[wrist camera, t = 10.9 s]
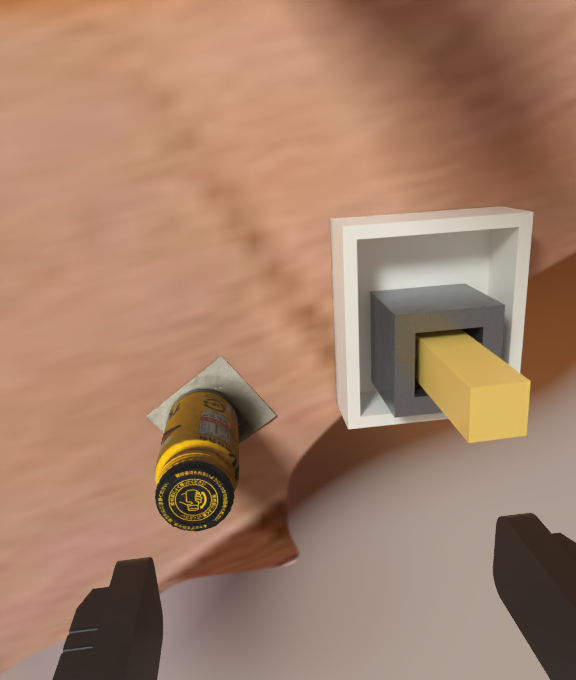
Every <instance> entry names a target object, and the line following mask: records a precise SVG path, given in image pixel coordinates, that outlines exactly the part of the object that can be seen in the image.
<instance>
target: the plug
mask: <svg viewBox="0 0 576 680" xmlns="http://www.w3.org/2000/svg"><path fill="white" fill-rule="evenodd" d="M415 380H416V381H417V382H418V383H419V384H420V385H421V387H422V388H423V389H424V390H425V391H426V393H427V394H428V395H429V396H430V397H431V399H432V400H433V401H434V402H435V403H436V405H437V406H438V407H439V408H440V409H441V411H442V412H443V413H444V414H445V415H446V417H447V418H448V419H449V420H450V421H451V422H452V424H453V425H454V426H455V427H456V428H457V430H458V431H459V432H460V433H461V434H462V436H463V437H464V438H465V439H466V440H467V442H468V443H474V442H482V441H490V440H498V439H506V438H513V437H522V436H527V425H528V411H529V397H530V383H531V382H530V380H528V379H527V378H526V377H524V376H523V375H522V374H521V373H519V372H518V371H516V370H515V369H514V368H512V367H511V366H510V365H508V364H507V363H506V362H504V361H503V360H502V359H500V358H499V357H498V356H496V355H495V354H494V353H492V352H491V351H490V350H488V349H487V348H485V347H484V346H483V345H481V344H480V343H479V342H477V341H476V340H475V339H473V338H472V337H471V336H469V335H468V334H467V333H465V332H464V331H463V330H461V329H455V330H444V331H433V332H422V333H415Z"/></svg>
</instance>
